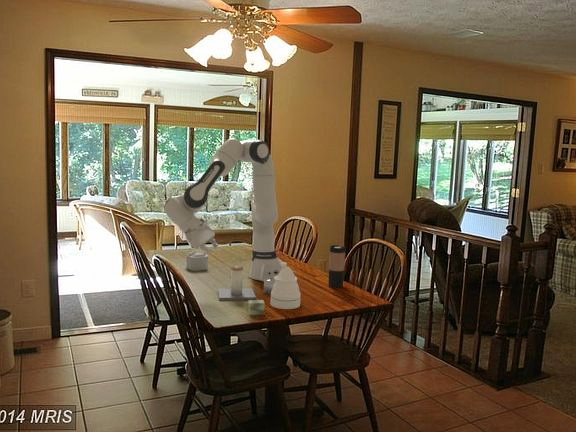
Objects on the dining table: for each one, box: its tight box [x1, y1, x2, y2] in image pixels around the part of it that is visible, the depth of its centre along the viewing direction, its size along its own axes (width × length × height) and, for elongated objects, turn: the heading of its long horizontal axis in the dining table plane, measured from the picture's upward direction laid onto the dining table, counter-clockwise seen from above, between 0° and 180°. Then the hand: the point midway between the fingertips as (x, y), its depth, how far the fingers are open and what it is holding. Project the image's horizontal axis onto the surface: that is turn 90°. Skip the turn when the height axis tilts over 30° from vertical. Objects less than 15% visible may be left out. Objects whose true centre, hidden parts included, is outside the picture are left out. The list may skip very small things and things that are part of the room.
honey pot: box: [270, 261, 302, 310], centre depth 219 cm, size 13×13×18 cm
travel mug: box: [327, 244, 346, 289], centre depth 250 cm, size 8×8×20 cm
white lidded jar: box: [230, 264, 244, 295], centre depth 229 cm, size 5×5×12 cm
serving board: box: [217, 287, 257, 301], centre depth 230 cm, size 16×14×1 cm
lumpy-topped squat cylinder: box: [186, 250, 209, 272], centre depth 278 cm, size 10×13×9 cm
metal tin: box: [263, 278, 276, 295], centre depth 236 cm, size 6×6×6 cm
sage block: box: [247, 299, 265, 316], centre depth 206 cm, size 6×4×5 cm, turn 101°
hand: (213, 249), depth 228 cm, fingers open, 8 cm apart
